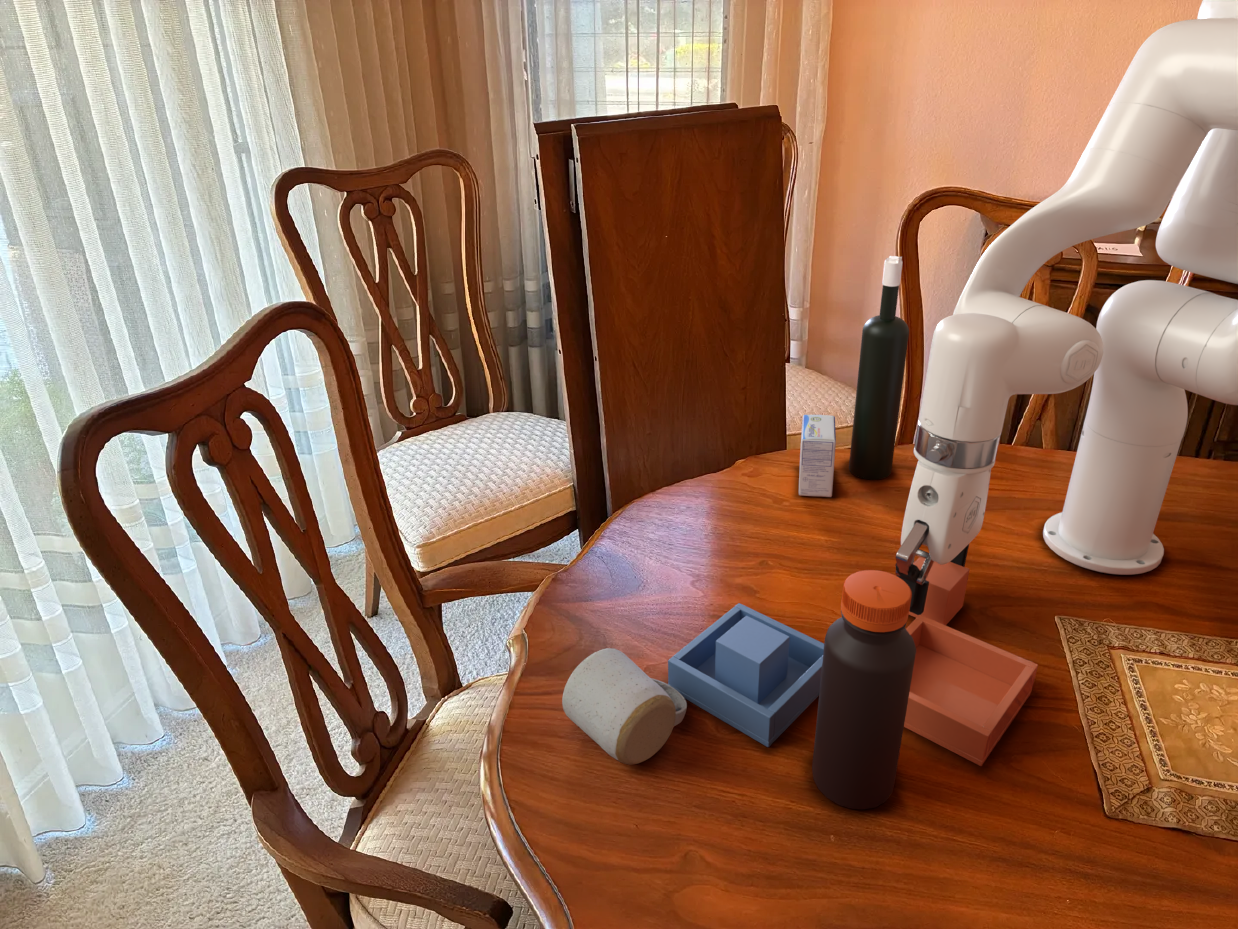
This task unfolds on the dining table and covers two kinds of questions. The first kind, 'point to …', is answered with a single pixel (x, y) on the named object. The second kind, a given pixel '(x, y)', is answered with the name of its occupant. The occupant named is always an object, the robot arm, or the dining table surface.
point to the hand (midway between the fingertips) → (928, 587)
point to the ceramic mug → (622, 706)
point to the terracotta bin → (964, 689)
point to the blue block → (752, 659)
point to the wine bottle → (879, 383)
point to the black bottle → (864, 691)
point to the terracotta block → (944, 590)
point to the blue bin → (759, 721)
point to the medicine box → (817, 455)
